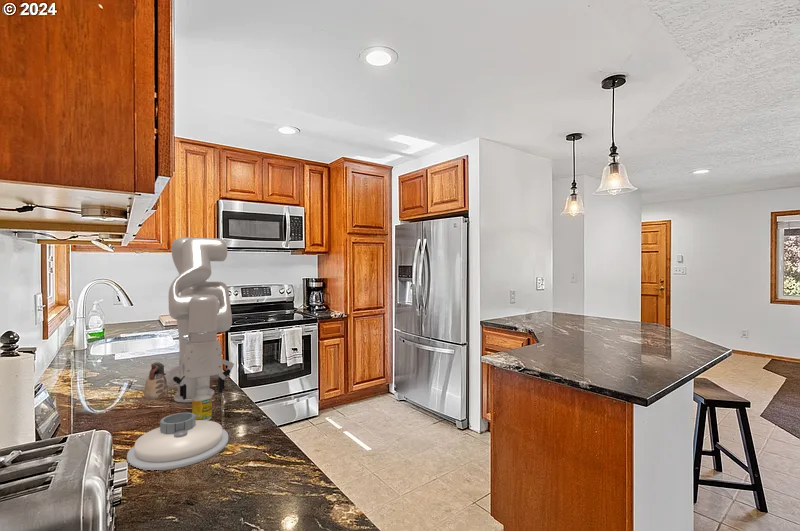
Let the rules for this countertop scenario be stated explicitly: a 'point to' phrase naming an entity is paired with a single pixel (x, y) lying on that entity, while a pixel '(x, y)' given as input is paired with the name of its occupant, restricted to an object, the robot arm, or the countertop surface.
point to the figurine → (156, 382)
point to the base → (176, 463)
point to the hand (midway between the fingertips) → (202, 395)
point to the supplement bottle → (202, 403)
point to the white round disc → (178, 438)
